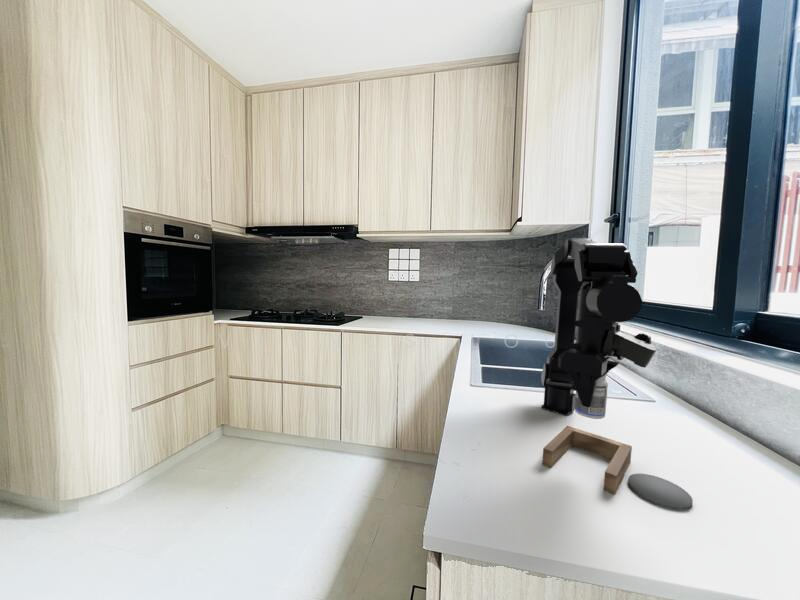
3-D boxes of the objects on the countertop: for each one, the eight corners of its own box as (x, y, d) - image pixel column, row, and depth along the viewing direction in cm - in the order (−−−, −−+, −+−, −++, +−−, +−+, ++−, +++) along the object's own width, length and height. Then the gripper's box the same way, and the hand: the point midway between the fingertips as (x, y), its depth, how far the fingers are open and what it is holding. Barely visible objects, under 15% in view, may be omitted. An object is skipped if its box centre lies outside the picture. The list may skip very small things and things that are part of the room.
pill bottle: (578, 406, 60) (582, 362, 60) (608, 414, 57) (611, 368, 57) (570, 413, 57) (574, 366, 57) (601, 422, 54) (605, 373, 53)
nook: (542, 464, 58) (543, 448, 58) (566, 439, 68) (567, 425, 68) (615, 494, 50) (616, 476, 50) (630, 461, 60) (631, 446, 60)
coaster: (623, 491, 51) (624, 487, 51) (632, 471, 57) (632, 467, 57) (691, 518, 46) (691, 514, 46) (693, 493, 51) (693, 489, 51)
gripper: (646, 325, 44) (637, 436, 45) (661, 317, 57) (654, 403, 58) (560, 316, 51) (553, 411, 52) (591, 311, 65) (585, 387, 66)
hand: (590, 402), depth 57 cm, fingers closed on pill bottle, 5 cm apart
